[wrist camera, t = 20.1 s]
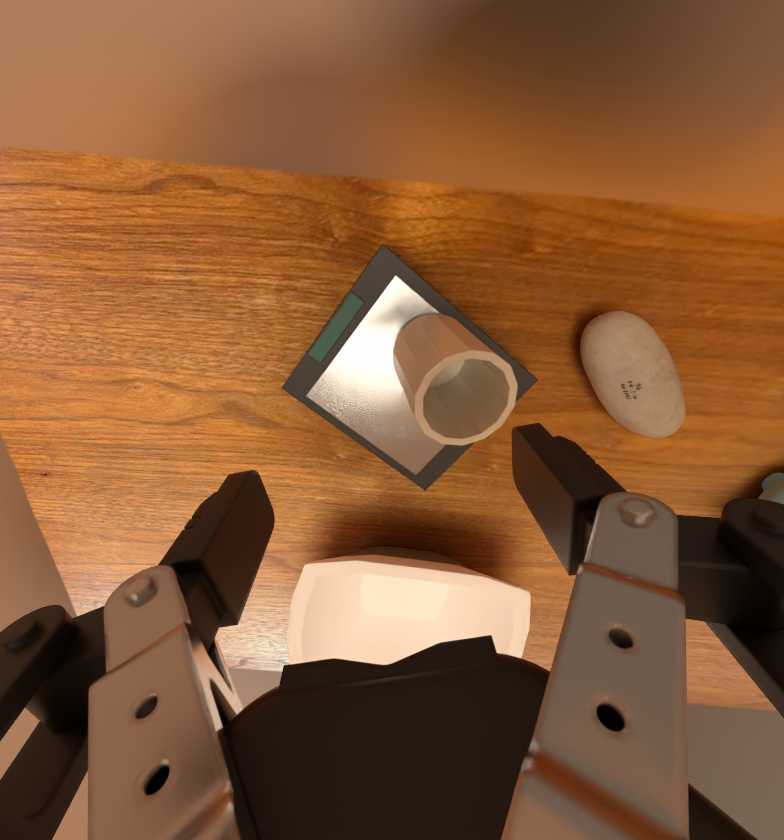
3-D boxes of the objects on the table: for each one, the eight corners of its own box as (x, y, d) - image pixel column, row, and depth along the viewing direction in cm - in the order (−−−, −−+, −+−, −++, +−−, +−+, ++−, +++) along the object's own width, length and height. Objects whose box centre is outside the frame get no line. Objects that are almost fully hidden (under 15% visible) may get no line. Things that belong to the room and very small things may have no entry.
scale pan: (307, 393, 30) (305, 396, 30) (395, 274, 26) (395, 274, 26) (415, 472, 33) (415, 475, 32) (511, 374, 29) (513, 376, 28)
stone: (638, 456, 31) (573, 383, 26) (613, 405, 36) (553, 331, 30) (717, 429, 28) (664, 337, 22) (680, 375, 32) (627, 286, 26)
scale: (292, 377, 33) (280, 389, 30) (385, 245, 28) (382, 243, 25) (424, 473, 36) (425, 492, 33) (527, 370, 31) (539, 381, 28)
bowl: (479, 654, 47) (492, 731, 39) (306, 632, 47) (286, 705, 39) (524, 521, 38) (553, 586, 30) (311, 493, 38) (286, 552, 30)
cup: (375, 352, 26) (392, 402, 19) (440, 294, 25) (482, 326, 18) (423, 403, 29) (453, 462, 22) (484, 353, 28) (536, 400, 21)
